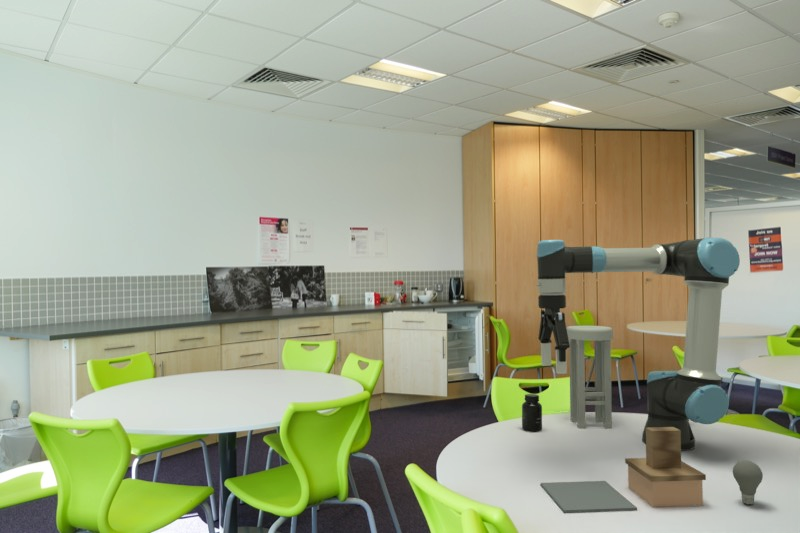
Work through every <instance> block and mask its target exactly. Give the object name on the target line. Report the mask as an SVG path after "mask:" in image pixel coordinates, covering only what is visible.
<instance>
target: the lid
mask: <svg viewBox="0 0 800 533" xmlns="http://www.w3.org/2000/svg"><path fill="white" fill-rule="evenodd" d="M624 463H625V465H627V466H628V465H629V466H630V467H631V468H633V469H634V470H636V471H637V472H638V473H640V474H641V475H643V476H644V477H645V478H647V479H648V480H650V481H651V482H659V481H690V480H702V481H707V480H706V479H707V478H706V474H705V473H704V472H701V471H700V470H698V469H697V468H695V467H694V466H691V465H690V464H687V463H686V462H684V461H683V460H682V450H681V430H679V429H677V428H675V427H649V428H646V444H645V457H628V458H626V457H625V458H624Z"/></svg>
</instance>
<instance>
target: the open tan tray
mask: <svg viewBox="0 0 800 533" xmlns="http://www.w3.org/2000/svg"><path fill="white" fill-rule="evenodd" d="M627 472H628V474H627V475H628V476H627V477H628V479H627V481H628V482H627V483H628V484H627V486H628V487H627V488H628V489H629V490H631V491H632V492H633V493H635V494H636V495H637V496H638V497H640V498H641V499H642V500H643V501H645V502H646V503H647V504H648V505H649V506H651V507H652V508H660V507H661V508H663V507H687V506H688V507H691V506H690V505H696V506H703V505H704V504H703V503H704V502H703V499H704V495H703V494H704V493H703V491H704V490H703V480H690V481H659V482H651V481H650V480H648V479H647V478H645V477H644V476H643V475H641V474H640V473H638V472H637V471H636V470H634V469H633V468H631V467H630V466H629V465H627Z"/></svg>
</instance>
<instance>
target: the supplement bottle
mask: <svg viewBox="0 0 800 533" xmlns="http://www.w3.org/2000/svg"><path fill="white" fill-rule="evenodd" d="M539 395H540V394H535V393H526V394H524V401H525V402H523V403H522V405H521V428H522V430H524V431H525V432H530V433H538V432H541V431H542V430H543V407H542V406H543V405H542V403H540V396H539Z"/></svg>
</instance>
